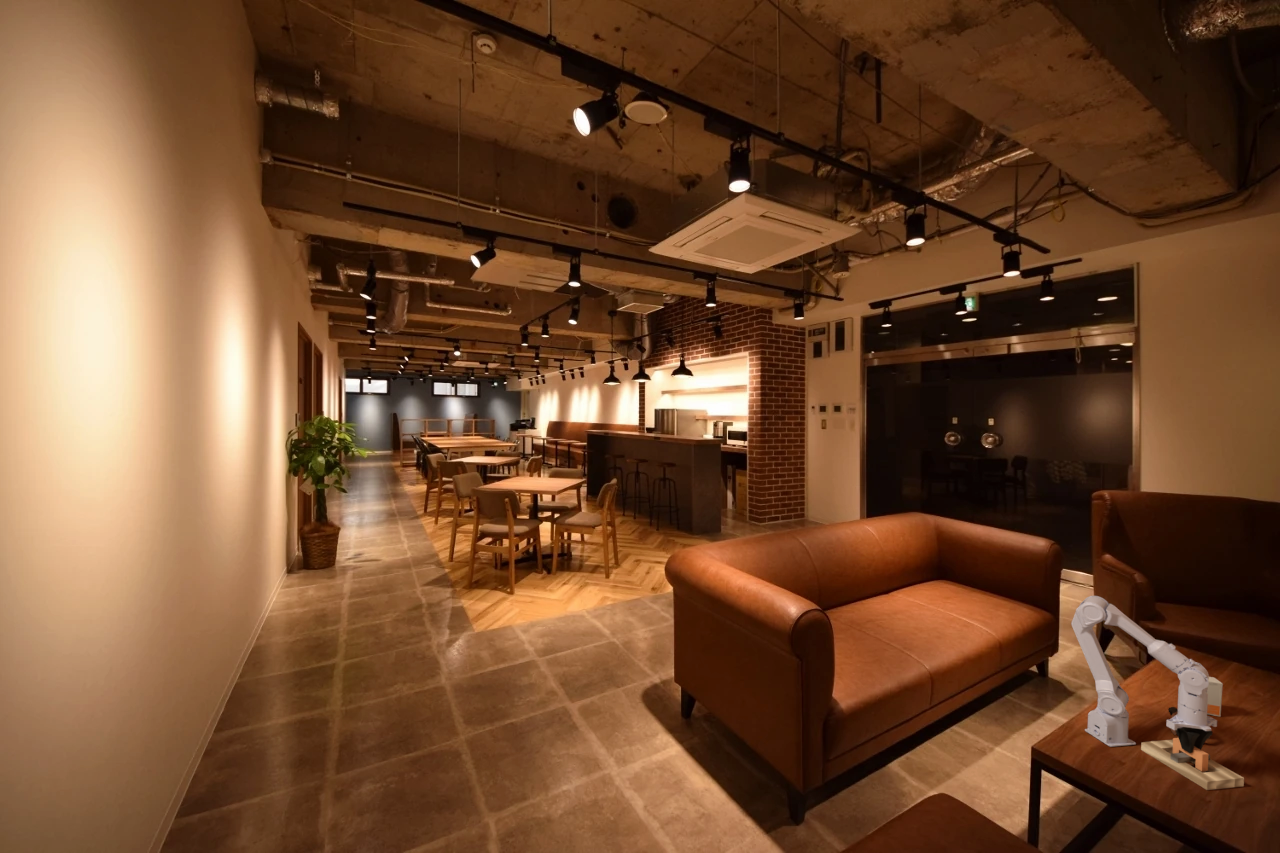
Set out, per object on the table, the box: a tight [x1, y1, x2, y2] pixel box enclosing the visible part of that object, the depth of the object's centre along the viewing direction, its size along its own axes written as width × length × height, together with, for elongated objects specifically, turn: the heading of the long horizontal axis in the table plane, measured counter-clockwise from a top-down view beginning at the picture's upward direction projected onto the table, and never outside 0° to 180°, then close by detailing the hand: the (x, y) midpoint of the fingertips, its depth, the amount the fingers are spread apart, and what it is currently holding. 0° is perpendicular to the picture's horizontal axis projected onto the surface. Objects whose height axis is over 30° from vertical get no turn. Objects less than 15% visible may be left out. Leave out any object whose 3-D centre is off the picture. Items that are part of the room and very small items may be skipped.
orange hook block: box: [1172, 737, 1209, 772], centre depth 143 cm, size 2×7×5 cm, turn 7°
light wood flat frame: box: [1140, 739, 1245, 791], centre depth 143 cm, size 12×16×4 cm
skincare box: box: [1207, 676, 1224, 718], centre depth 169 cm, size 6×4×12 cm
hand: (1190, 750), depth 143 cm, fingers closed on orange hook block, 2 cm apart
